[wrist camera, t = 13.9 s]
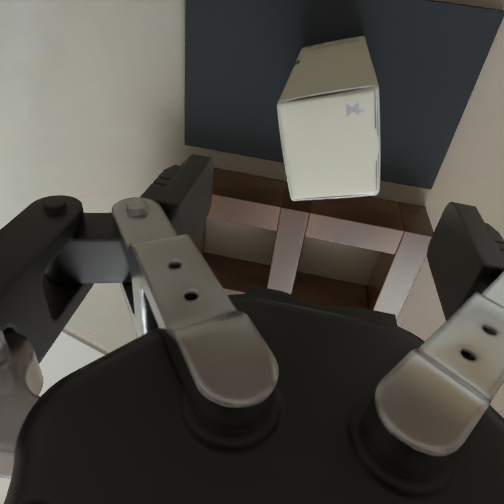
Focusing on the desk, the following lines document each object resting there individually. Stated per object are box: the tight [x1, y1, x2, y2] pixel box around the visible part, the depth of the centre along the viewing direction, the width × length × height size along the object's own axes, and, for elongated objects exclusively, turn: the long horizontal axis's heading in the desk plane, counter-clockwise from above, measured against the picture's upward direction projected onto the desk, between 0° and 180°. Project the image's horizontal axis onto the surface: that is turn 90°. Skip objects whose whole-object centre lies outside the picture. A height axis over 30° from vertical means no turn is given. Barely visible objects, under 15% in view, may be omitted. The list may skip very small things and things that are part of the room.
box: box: [277, 36, 381, 201], centre depth 23 cm, size 5×4×13 cm
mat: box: [185, 0, 504, 189], centre depth 28 cm, size 20×12×1 cm, turn 84°
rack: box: [181, 163, 434, 320], centre depth 35 cm, size 21×11×4 cm, turn 84°
